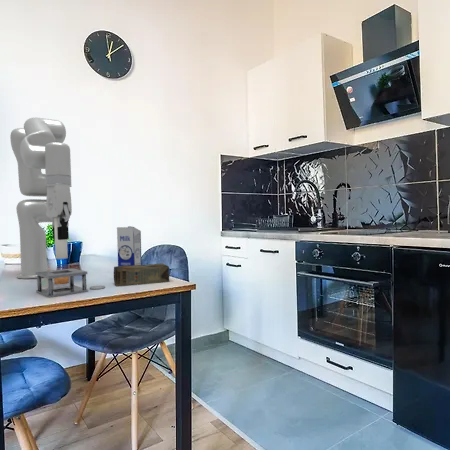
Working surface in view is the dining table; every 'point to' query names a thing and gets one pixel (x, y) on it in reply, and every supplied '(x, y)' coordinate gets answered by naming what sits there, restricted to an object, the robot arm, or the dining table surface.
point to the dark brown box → (141, 274)
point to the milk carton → (129, 246)
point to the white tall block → (59, 243)
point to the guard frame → (71, 288)
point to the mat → (96, 287)
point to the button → (61, 280)
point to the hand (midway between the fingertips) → (60, 238)
